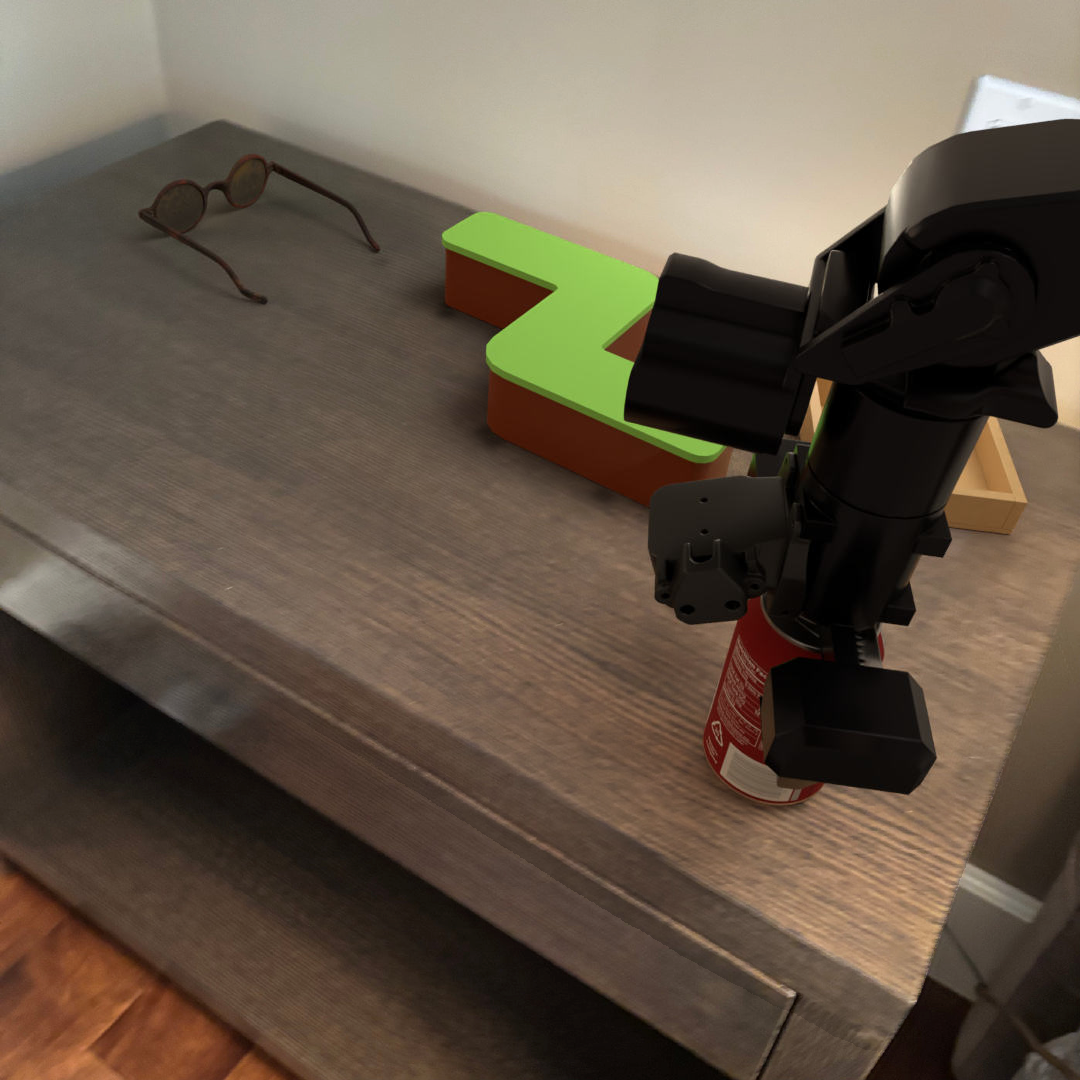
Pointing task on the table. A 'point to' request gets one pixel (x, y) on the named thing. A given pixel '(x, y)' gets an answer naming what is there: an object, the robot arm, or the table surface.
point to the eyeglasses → (242, 187)
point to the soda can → (756, 701)
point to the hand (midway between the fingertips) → (781, 707)
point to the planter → (567, 354)
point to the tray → (963, 476)
